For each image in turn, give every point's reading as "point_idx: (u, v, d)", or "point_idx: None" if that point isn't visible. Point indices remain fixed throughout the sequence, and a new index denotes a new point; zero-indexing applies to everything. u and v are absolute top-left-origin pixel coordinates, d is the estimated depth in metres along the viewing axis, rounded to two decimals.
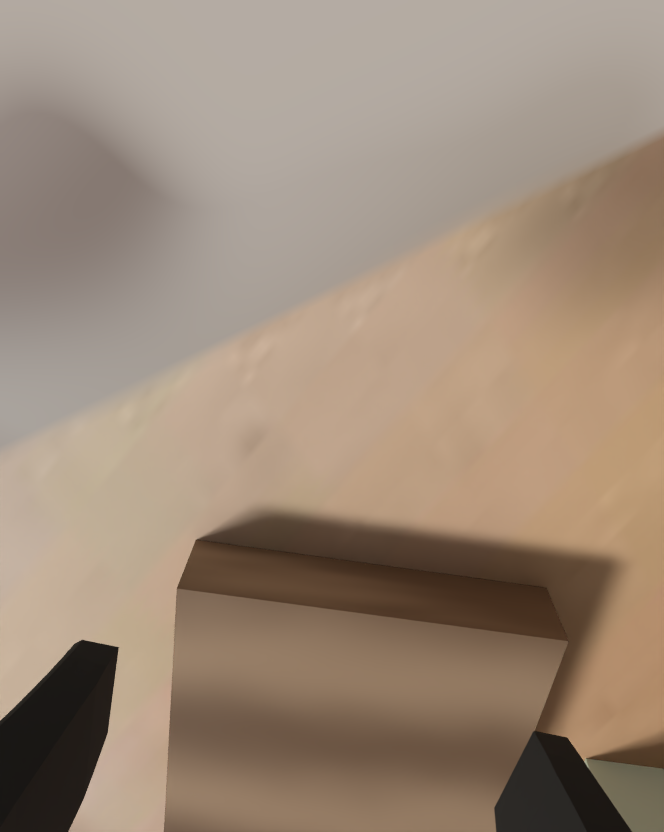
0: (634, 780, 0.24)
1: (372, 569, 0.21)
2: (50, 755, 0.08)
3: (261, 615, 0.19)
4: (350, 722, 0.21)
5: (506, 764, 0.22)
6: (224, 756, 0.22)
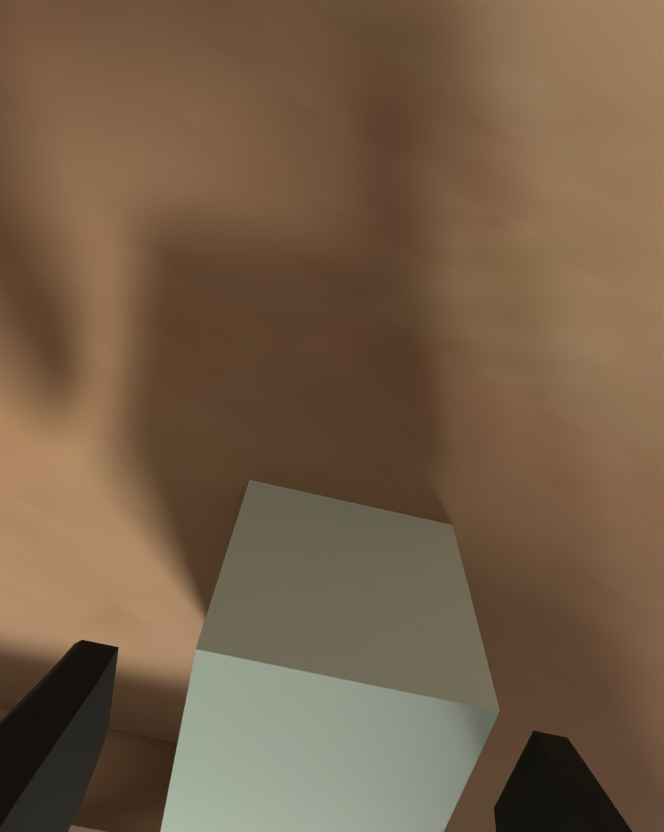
0: None
1: None
2: (50, 755, 0.08)
3: None
4: None
5: None
6: None
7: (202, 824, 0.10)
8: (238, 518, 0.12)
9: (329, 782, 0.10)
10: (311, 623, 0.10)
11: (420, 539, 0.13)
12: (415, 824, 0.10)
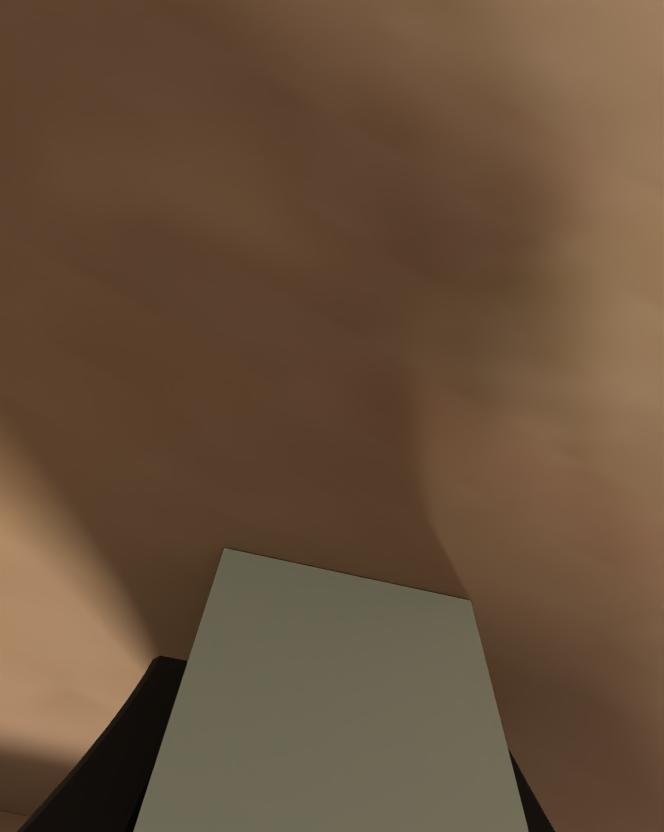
0: None
1: None
2: (150, 774, 0.08)
3: None
4: None
5: None
6: None
7: None
8: (206, 609, 0.10)
9: None
10: (294, 773, 0.08)
11: (432, 627, 0.11)
12: None
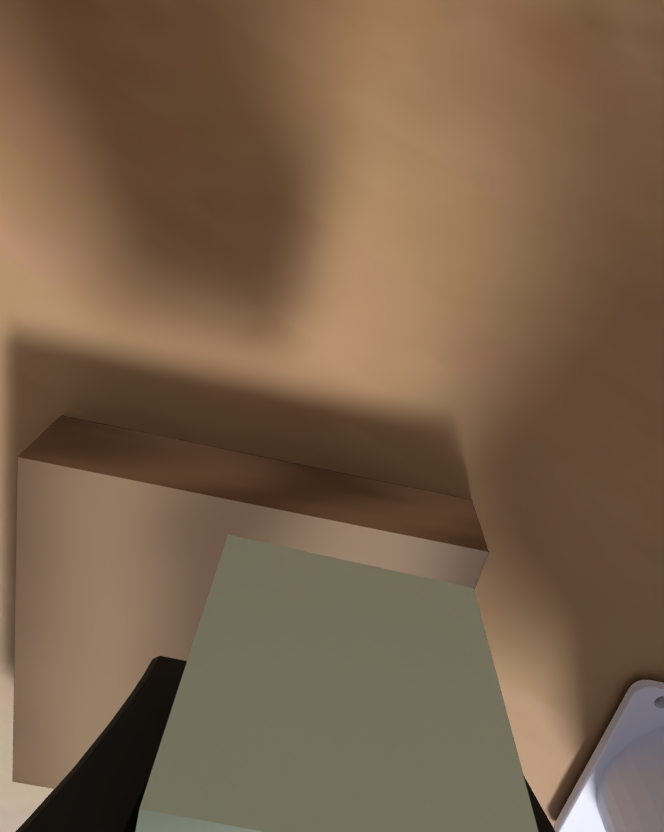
0: None
1: None
2: (149, 774, 0.08)
3: (33, 728, 0.19)
4: None
5: (238, 519, 0.16)
6: None
7: None
8: (210, 593, 0.10)
9: None
10: (299, 753, 0.08)
11: (436, 613, 0.11)
12: None
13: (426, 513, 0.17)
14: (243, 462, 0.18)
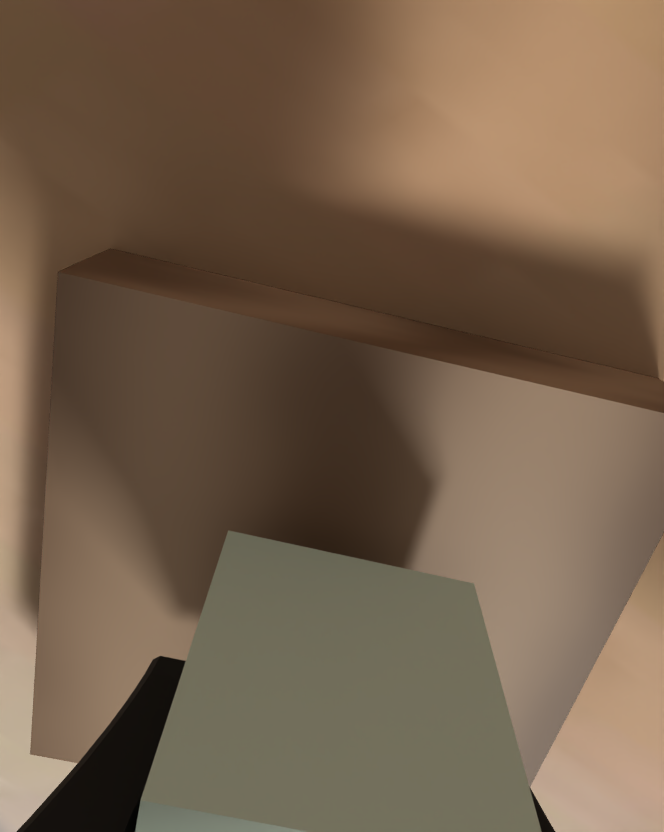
0: None
1: None
2: None
3: (61, 681, 0.15)
4: None
5: (370, 373, 0.11)
6: None
7: None
8: (211, 588, 0.10)
9: None
10: (300, 745, 0.08)
11: (436, 608, 0.11)
12: None
13: (614, 383, 0.13)
14: (360, 314, 0.13)
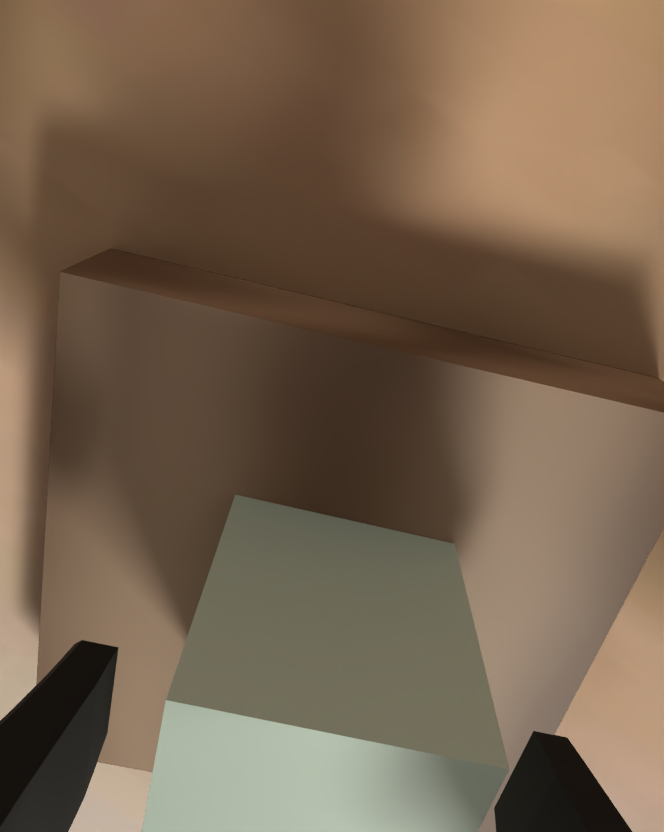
0: None
1: None
2: (50, 755, 0.08)
3: None
4: None
5: (369, 373, 0.11)
6: None
7: None
8: (220, 541, 0.11)
9: None
10: (297, 665, 0.09)
11: (420, 562, 0.12)
12: None
13: (613, 382, 0.13)
14: (360, 313, 0.13)
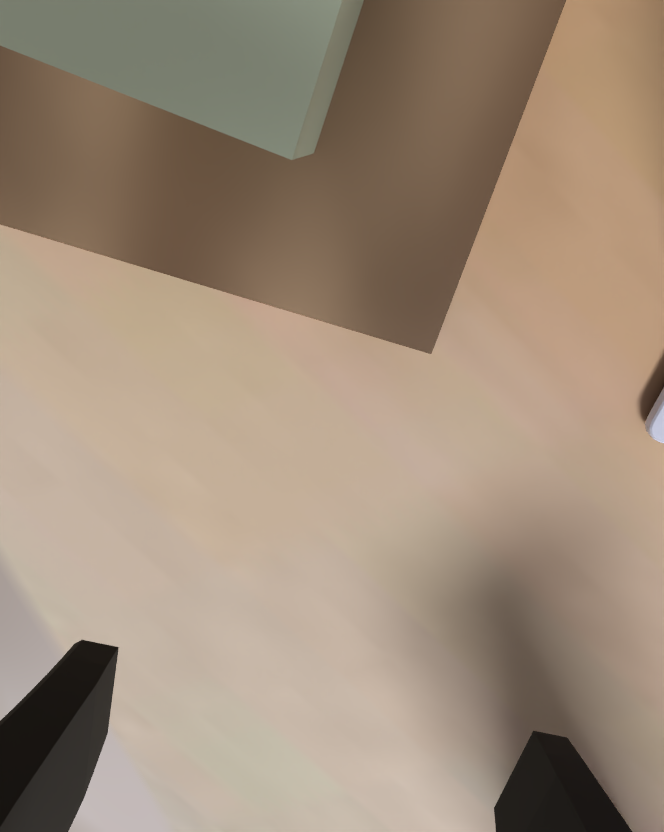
0: None
1: None
2: (50, 755, 0.08)
3: None
4: None
5: None
6: (248, 210, 0.14)
7: None
8: None
9: None
10: None
11: None
12: (300, 7, 0.08)
13: None
14: None
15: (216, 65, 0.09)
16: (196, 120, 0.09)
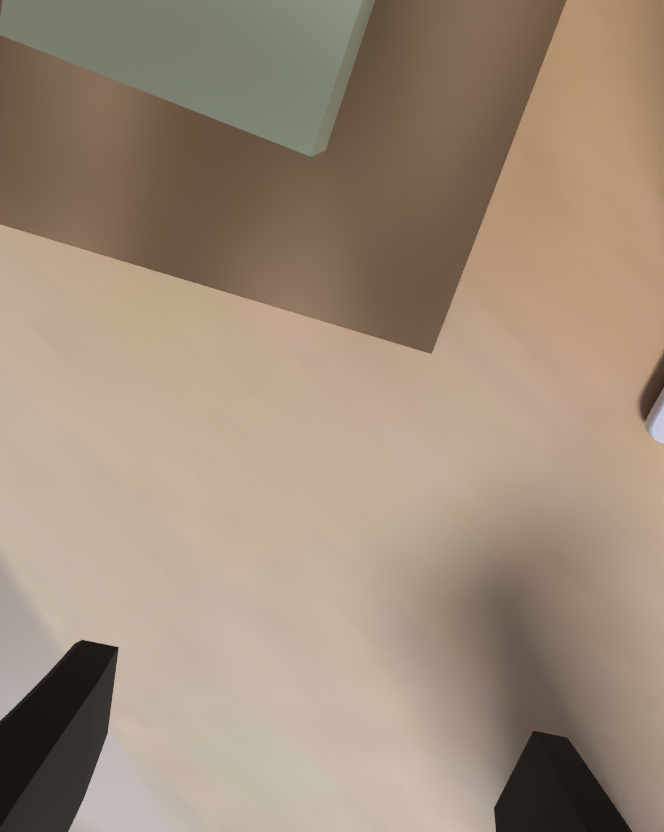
0: None
1: None
2: (50, 755, 0.08)
3: None
4: None
5: None
6: (249, 210, 0.14)
7: None
8: None
9: None
10: None
11: None
12: (320, 3, 0.08)
13: None
14: None
15: (236, 62, 0.09)
16: (215, 117, 0.09)
